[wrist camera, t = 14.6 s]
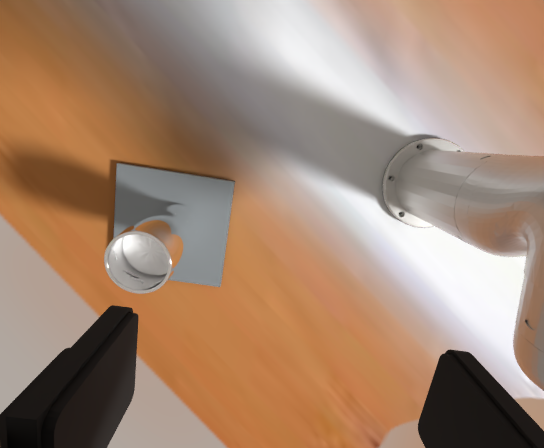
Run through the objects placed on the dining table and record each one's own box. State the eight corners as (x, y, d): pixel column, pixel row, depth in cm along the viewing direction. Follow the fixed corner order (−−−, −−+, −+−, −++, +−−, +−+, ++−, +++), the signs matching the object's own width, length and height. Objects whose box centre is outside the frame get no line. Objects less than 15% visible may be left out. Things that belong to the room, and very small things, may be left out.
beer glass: (196, 252, 48) (166, 302, 33) (148, 241, 47) (97, 286, 32) (206, 207, 46) (179, 239, 31) (157, 194, 45) (107, 221, 31)
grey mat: (234, 181, 46) (234, 182, 45) (221, 284, 50) (220, 286, 49) (119, 162, 45) (116, 163, 44) (115, 269, 49) (112, 272, 48)
